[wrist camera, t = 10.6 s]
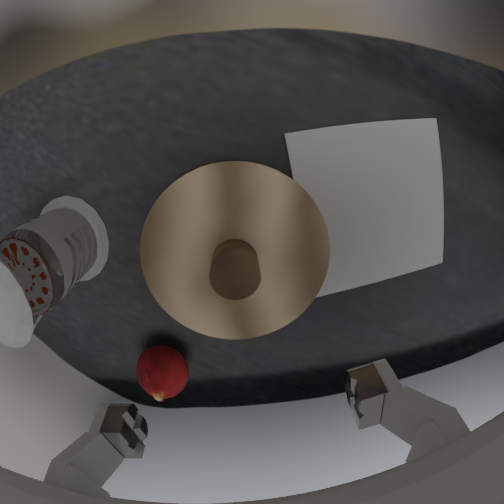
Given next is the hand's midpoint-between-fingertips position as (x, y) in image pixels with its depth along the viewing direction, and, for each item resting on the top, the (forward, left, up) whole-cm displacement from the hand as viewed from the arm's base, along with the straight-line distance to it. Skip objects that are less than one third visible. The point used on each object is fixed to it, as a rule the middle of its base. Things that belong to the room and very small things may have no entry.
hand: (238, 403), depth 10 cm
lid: (0, 0, -15) cm, 15 cm away
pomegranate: (+11, +12, -21) cm, 26 cm away
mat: (-15, 0, -21) cm, 25 cm away
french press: (+18, -3, -21) cm, 28 cm away
